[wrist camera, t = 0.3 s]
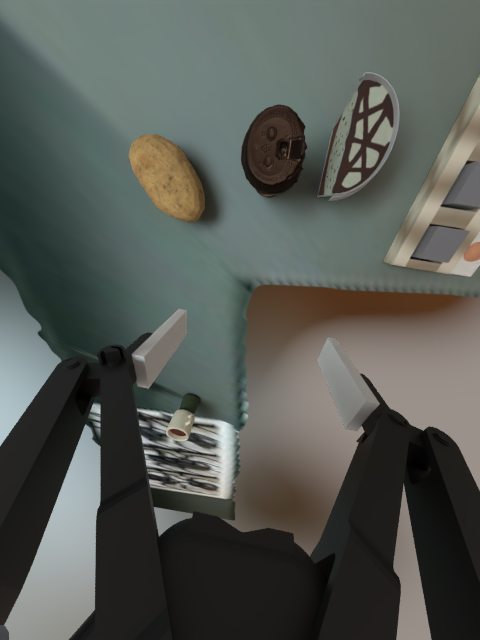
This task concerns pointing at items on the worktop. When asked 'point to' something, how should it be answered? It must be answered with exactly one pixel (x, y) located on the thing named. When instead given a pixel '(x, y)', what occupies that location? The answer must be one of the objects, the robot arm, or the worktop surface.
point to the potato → (167, 177)
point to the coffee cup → (274, 150)
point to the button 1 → (439, 243)
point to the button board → (443, 194)
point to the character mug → (183, 419)
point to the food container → (360, 138)
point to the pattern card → (469, 259)
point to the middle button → (465, 189)
